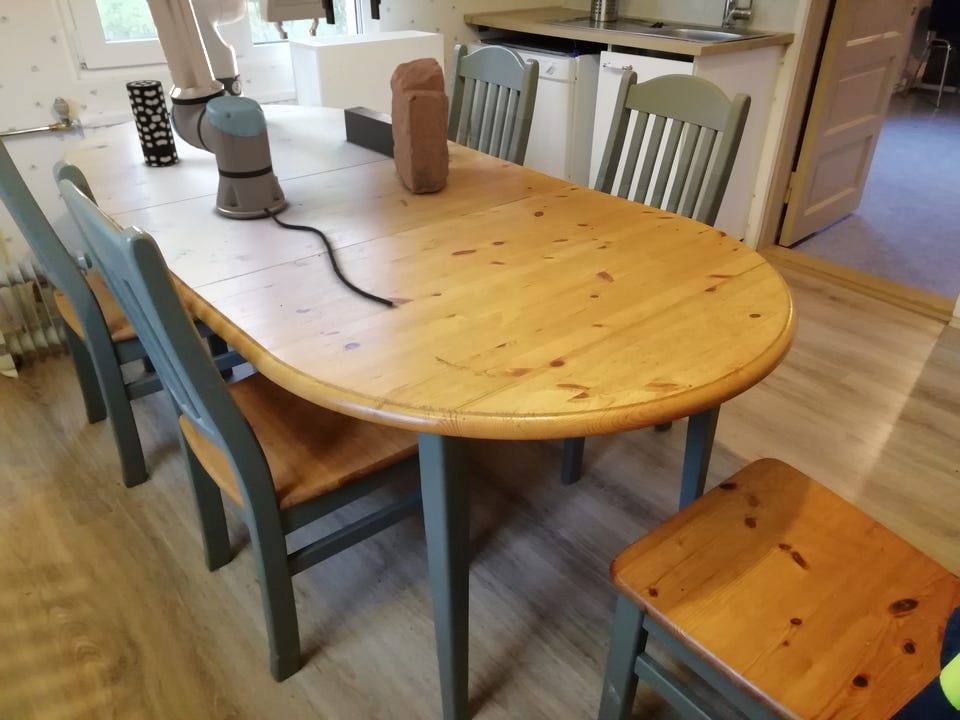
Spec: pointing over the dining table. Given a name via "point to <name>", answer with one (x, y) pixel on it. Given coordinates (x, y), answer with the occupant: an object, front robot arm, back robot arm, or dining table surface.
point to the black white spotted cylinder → (152, 122)
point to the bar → (370, 129)
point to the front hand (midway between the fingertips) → (353, 21)
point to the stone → (420, 124)
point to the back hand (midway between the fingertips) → (298, 37)
